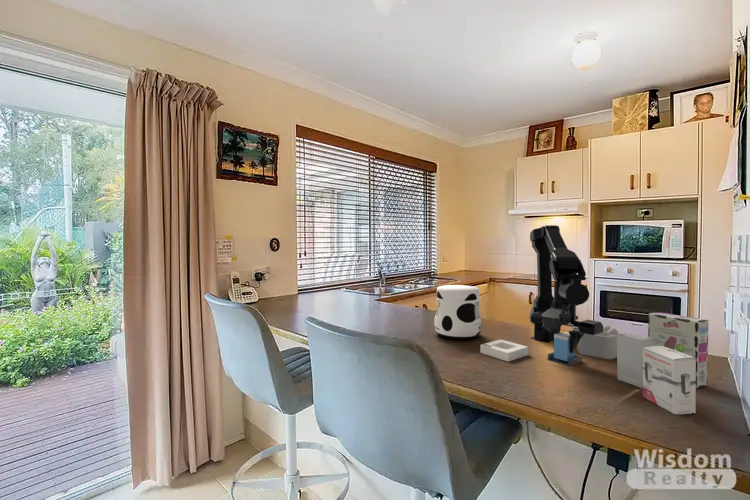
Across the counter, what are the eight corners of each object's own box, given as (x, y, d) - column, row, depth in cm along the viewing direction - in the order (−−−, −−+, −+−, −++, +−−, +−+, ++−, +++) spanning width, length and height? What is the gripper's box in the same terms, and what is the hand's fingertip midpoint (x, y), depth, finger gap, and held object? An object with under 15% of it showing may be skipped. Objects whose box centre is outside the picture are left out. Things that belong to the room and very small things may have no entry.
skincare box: (652, 386, 88) (653, 337, 87) (642, 390, 86) (643, 340, 85) (625, 377, 93) (626, 331, 93) (615, 381, 91) (616, 334, 91)
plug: (561, 354, 108) (561, 331, 108) (574, 358, 104) (574, 334, 104) (553, 357, 106) (553, 334, 105) (567, 361, 102) (567, 337, 102)
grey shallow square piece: (559, 356, 110) (559, 350, 110) (582, 363, 104) (582, 356, 104) (546, 361, 106) (546, 354, 106) (569, 368, 100) (569, 361, 100)
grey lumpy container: (573, 354, 112) (574, 327, 112) (586, 345, 121) (586, 320, 121) (612, 362, 105) (613, 333, 104) (623, 352, 114) (623, 325, 113)
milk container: (429, 330, 142) (429, 285, 141) (471, 328, 144) (471, 284, 143) (442, 343, 125) (441, 292, 124) (489, 341, 127) (489, 290, 126)
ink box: (640, 397, 82) (641, 345, 82) (660, 395, 83) (661, 345, 82) (674, 415, 74) (676, 358, 73) (697, 414, 74) (698, 357, 74)
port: (500, 348, 119) (500, 338, 119) (528, 356, 110) (528, 346, 110) (480, 354, 113) (480, 344, 113) (507, 363, 105) (507, 352, 105)
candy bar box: (708, 386, 88) (710, 319, 87) (696, 389, 86) (698, 321, 85) (658, 370, 98) (659, 311, 98) (646, 373, 96) (647, 312, 96)
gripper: (519, 296, 108) (519, 348, 108) (584, 306, 92) (583, 366, 93) (540, 293, 114) (540, 341, 114) (604, 301, 98) (603, 358, 99)
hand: (564, 351), depth 105 cm, fingers closed on plug, 4 cm apart
